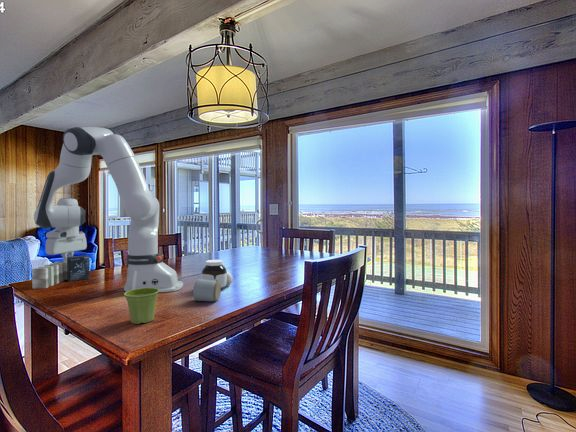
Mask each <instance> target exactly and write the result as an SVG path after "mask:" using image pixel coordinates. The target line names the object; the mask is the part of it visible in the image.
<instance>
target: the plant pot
mask: <svg viewBox="0 0 576 432" xmlns="http://www.w3.org/2000/svg"><path fill="white" fill-rule="evenodd" d="M158 293H160V292H159V289H157V288H139V289H133V290H130V291H127V292H126V291H124V293H123V296H124V297H125V299H126V301H127V307H128V312H129V318H130V323H132V324H134V325H140V324H147V323H150V322H152V321H153V320H154V318H155V311H156V310H155V309H156V304H157V298H158Z"/></svg>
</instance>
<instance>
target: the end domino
mask: <svg viewBox="0 0 576 432" xmlns="http://www.w3.org/2000/svg"><path fill="white" fill-rule="evenodd" d="M54 263H64V281H65V280H67V262H64V261H55V262H54ZM67 281H68V280H67Z"/></svg>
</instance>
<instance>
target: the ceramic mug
mask: <svg viewBox="0 0 576 432" xmlns="http://www.w3.org/2000/svg"><path fill="white" fill-rule="evenodd" d="M192 291H193V292H192V297H193V300H194V301H195V302H217V301H218V300H219V299H220V297H221V292H222V290H221V285H220V283H219V282H217V281H212V280H204V279H201V278H198V279H196V281H195V282H194V286H193V289H192Z"/></svg>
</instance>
